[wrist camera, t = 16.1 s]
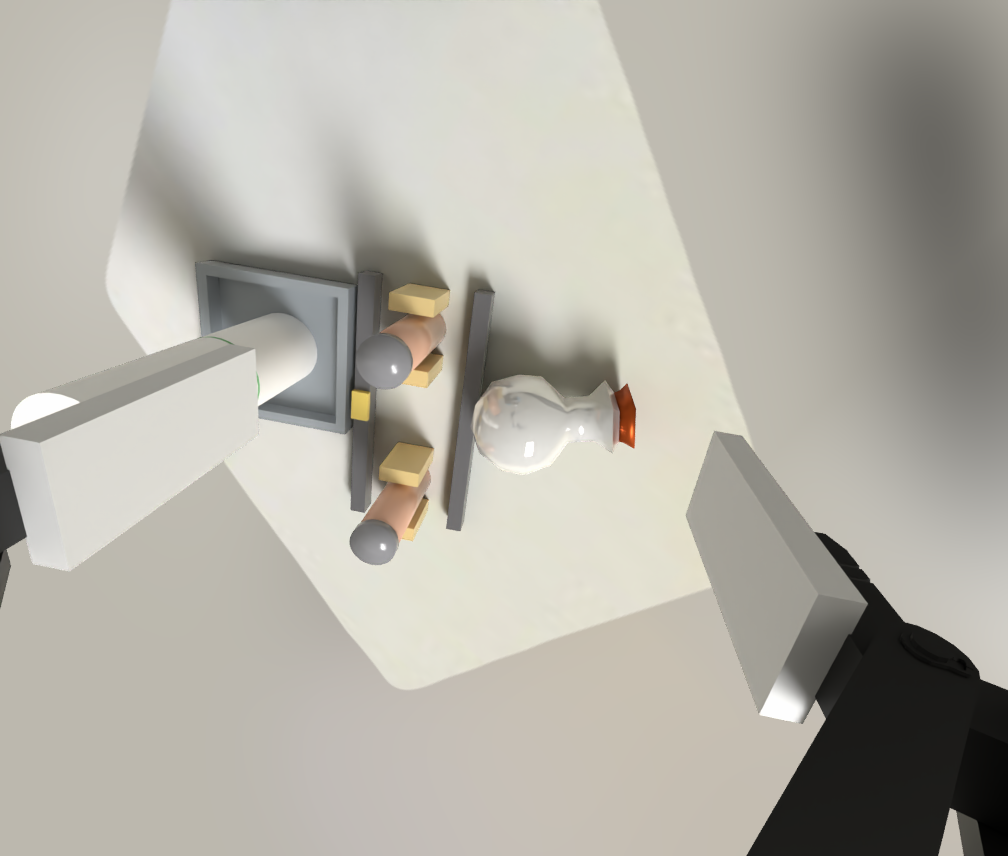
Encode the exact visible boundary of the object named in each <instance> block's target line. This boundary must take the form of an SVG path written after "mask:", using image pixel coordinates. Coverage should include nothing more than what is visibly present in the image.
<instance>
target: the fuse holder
mask: <svg viewBox="0 0 1008 856" xmlns="http://www.w3.org/2000/svg"><path fill="white" fill-rule="evenodd" d="M381 290H382V273H377V272H371V271H363V272H360V273H358V300H357V331H356V353H357V350H358V348H359V346H360V345H361V344H362V342H364V341H365V340H366V339H368V338H369V337H371V336H373V335H375V334H378V333H379V330H380V310H381ZM449 295H450V290H446V289H440V288H434V287H428V286H422V285H416V284H411V283H409V284H407V285H404V286H402V287H400V288H398V289H396V290H393V291H391V292H389V306H388V310H392V311H398V312H404V313H410V314H415V315H421V316H427V317H435V316H436V315H437V314H439V313H440V312H441V311H442V310H444V309H445V308H446V307H448V305H449ZM494 295H495V292H490V291H484V290H477V291H476V292H475V295H474V303H473V311H472V319H471V328H470V336H469V344H468V353H467V361H466V369H465V377H464V386H463V394H462V402H461V410H460V419H459V427H458V435H457V444H456V452H455V460H454V468H453V477H452V485H451V493H450V501H449V510H448V518H447V526H446V529H451V530H456V531H461V528H462V525H463V522H464V516H465V508H466V501H467V494H468V486H469V479H470V472H471V464H472V457H473V450H474V442H475V439H474V436H473V433H472V431H471V428H470V426H471V422H472V417H473V413H474V409H475V405H476V404H477V402H478V401H479V399H480V398H481V391H482V383H483V376H484V369H485V361H486V354H487V347H488V339H489V332H490V325H491V317H492V310H493V303H494ZM442 364H443V355H437V354H432V353H430V354H429V355H428V356H427V357H426V358H425V359H424V360H423V361H422V362H421V363H420V364H419V365H418V366H417V367H416V368H415V369H414V370H413V371H412V372H411V373H410V375H409V376H408V378H407V379H406V380H405V381H404V382H403V383H402V384H406V385H412V386H418V387H423V388H427V387H428V386H429V385H430V384H431V382H432V381H433V380H434V379H435V378H436V376H437V375H438V374H439V373H440V371H441V370H442ZM376 389H377V388H376V387H374V386H372V385H370V384H369V383H367V382H366V381H365V380H364V379H363V378H362V376H361V375H360V373H359V371H358V369H357V365H356V361H355V389H354V390H352V401H351V418H352V419H354V422H353V453H352V483H351V510H353V511H359V512H364V513H365V511H366V510H367V508H368V507H369V505H370V504H371V488H372V468H373V448H374V429H375V409H376ZM433 452H434V448H428V447H423V446H417V445H412V444H407V443H401V442H398V443H397V444H396V445H395V447H394V448H393V449H392V451H391V452H390V453H389V455H388V456H387V457H386V459H385V460H384V461H383V463H382V464H381V465H380V467H379V480H382V481H387V482H392V483H398V484H403V485H408V486H413V487H418V486H419V484H420V482H421V481H422V479H423V477H424V475H425V474H426V472H427V470H428V468H429V466H430V465H431V463H432V461H433ZM428 501H429V500H428V499H423V498H422V500H421V502H420V504H419V506H418V508H417V510H416V512H415V513H414V515H413V517H412V519H411V521H410V523H409V525H408V527H407V529H406V531H405V533H404V535H403V537H402V539H405V540H410V541H413V540H414V538H415V536H416V534H417V532H418V529H419V527H420V525H421V523H422V521H423V519H424V517H425V515H426V513H427V511H428Z"/></svg>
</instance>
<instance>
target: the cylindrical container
mask: <svg viewBox="0 0 1008 856" xmlns="http://www.w3.org/2000/svg"><path fill="white" fill-rule="evenodd" d="M229 344H233V345H239V346H244V347H250V348H255V352H256V374H257V395H258V406H260V405H261V404H263V403H264V402H266V401H268V400H269V399H271V398H272V397H274V396H276V395H277V394H279V393H280V392H282V391H284V390H285V389H287V388H288V387H290V386H292V385H293V384H295V383H296V382H298V381H300V380H301V379H303V378H304V377H306V376H307V375H308V374H309V373H311V371H312V370H313V368H314V366H315V364H316V360H317V347H316V343H315V340H314V338H313V335H312V334H311V332H310V331H309V329H308V328H307V327H306V326H305V325H304V324H303V323H302V322H301V321H299V320H298V319H296V318H295V317H293V316H291V315H288V314H284V313H271V314H268V315H265V316H262V317H259V318H256V319H253V320H250V321H247V322H244V323H241V324H238V325H235V326H232V327H229V328H226V329H223V330H221V331H218V332H215V333H212V334H209V335H206V336H203V337H200V338H197V339H194V340H191V341H188V342H185V343H183V344H180V345H177V346H174V347H171V348H168V349H165V350H162V351H159V352H156V353H153V354H151V355H148V356H145V357H142V358H139V359H136V360H133V361H130V362H127V363H125V364H122V365H119V366H116V367H113V368H110V369H107V370H104V371H101V372H98V373H95V374H93V375H90V376H87V377H84V378H81V379H78V380H75V381H72V382H69V383H66V384H64V385H61V386H58V387H55V388H52V389H49V390H46V391H43V392H40V393H37V394H34V395H32V396H29V397H27V398H26V399H24V400H23V401H21V402H20V403H19V405H18V406H17V407H16V409H15V411H14V413H13V416H12V422H11V430H12V429H14V428H17V427H19V426H22V425H24V424H27V423H30V422H32V421H35V420H37V419H40V418H42V417H45V416H47V415H50V414H52V413H55V412H58V411H60V410H63V409H65V408H68V407H70V406H73V405H75V404H78V403H81V402H83V401H86V400H88V399H91V398H93V397H96V396H98V395H101V394H103V393H106V392H109V391H111V390H114V389H116V388H119V387H121V386H124V385H126V384H129V383H132V382H134V381H137V380H139V379H142V378H144V377H147V376H149V375H152V374H155V373H157V372H160V371H162V370H165V369H167V368H170V367H172V366H175V365H177V364H180V363H183V362H185V361H188V360H190V359H193V358H195V357H198V356H200V355H203V354H206V353H208V352H211V351H213V350H216V349H218V348H221V347H223V346H226V345H229Z"/></svg>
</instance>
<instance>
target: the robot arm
mask: <svg viewBox="0 0 1008 856" xmlns="http://www.w3.org/2000/svg"><path fill="white" fill-rule="evenodd" d="M257 436H259V417H258V395H257V374H256V352H255V348H250V347H244V346H239V345H233V344H229V345H226V346H223V347H221V348H218V349H216V350H213V351H211V352H208V353H206V354H203V355H200V356H198V357H195V358H193V359H190V360H188V361H185V362H183V363H180V364H177V365H175V366H172V367H170V368H167V369H165V370H162V371H160V372H157V373H155V374H152V375H149V376H147V377H144V378H142V379H139V380H137V381H134V382H132V383H129V384H126V385H124V386H121V387H119V388H116V389H114V390H111V391H109V392H106V393H103V394H101V395H98V396H96V397H93V398H91V399H88V400H86V401H83V402H81V403H78V404H75V405H73V406H70V407H68V408H65V409H63V410H60V411H58V412H55V413H52V414H50V415H47V416H45V417H42V418H40V419H37V420H35V421H32V422H30V423H27V424H24V425H22V426H19V427H17V428H14V429H12V430H9V431H7V432H4V433H2V434H0V607H1V603H2V599H3V595H4V591H5V587H6V583H7V579H8V575H9V571H10V567H11V565H10V560H9V557H8V553H7V550H6V549H7V548H9V547H11V546H12V545H14V544H16V543H17V542H19V541H21V540H22V539H24V538H26V542H27V545H28V549H29V553H30V557H31V560H32V564H36V565H41V566H46V567H50V568H56V569H61V570H65V571H71V570H72V569H74V568H75V567H76V566H78V565H79V564H80V563H82V562H83V561H85V560H86V559H88V558H89V557H90V556H92V555H93V554H95V553H96V552H97V551H99V550H100V549H102V548H103V547H104V546H106V545H107V544H108V543H110V542H111V541H113V540H114V539H115V538H117V537H118V536H119V535H121V534H122V533H124V532H125V531H126V530H128V529H129V528H131V527H132V526H134V525H135V524H136V523H138V522H139V521H140V520H142V519H143V518H145V517H146V516H147V515H149V514H150V513H152V512H153V511H154V510H155V509H157V508H159V507H160V506H161V505H163V504H164V503H165V502H167V501H168V500H169V499H171V498H172V497H174V496H175V495H176V494H178V493H179V492H181V491H182V490H183V489H185V488H186V487H188V486H189V485H191V484H192V483H193V482H195V481H196V480H197V479H199V478H200V477H202V476H203V475H204V474H206V473H207V472H209V471H210V470H211V469H213V468H214V467H216V466H217V465H218V464H220V463H221V462H222V461H224V460H225V459H227V458H228V457H229V456H231V455H232V454H234V453H235V452H236V451H238V450H239V449H241V448H242V447H243V446H245V445H246V444H248V443H249V442H250V441H252V440H253V439H254V438H256V437H257ZM686 518H687V520H688V523H689V526H690V529H691V531H692V534H693V537H694V539H695V542H696V545H697V548H698V550H699V553H700V556H701V558H702V561H703V564H704V567H705V569H706V572H707V575H708V577H709V580H710V583H711V586H712V588H713V591H714V593H715V596H716V599H717V602H718V605H719V607H720V610H721V613H722V615H723V618H724V621H725V623H726V626H727V629H728V632H729V634H730V637H731V640H732V642H733V645H734V648H735V651H736V653H737V656H738V659H739V661H740V664H741V667H742V669H743V672H744V675H745V678H746V680H747V683H748V686H749V689H750V691H751V694H752V697H753V699H754V702H755V705H756V708H757V710H758V713H759V715H763V716H768V717H772V718H777V719H782V720H787V721H792V722H796V723H801V724H803V722H804V720H805V719H806V716H807V715H808V713H809V711H810V709H811V708H812V706H813V704H814V702H815V700H817V702H818V704H819V706H820V708H821V710H822V712H823V714H824V716H825V718H826V720H825V722H824V724H823V725H822V727H821V729H820V731H819V732H818V734H817V736H816V737H815V739H814V741H813V743H812V744H811V746H810V748H809V749H808V751H807V753H806V755H805V756H804V758H803V760H802V761H801V763H800V765H799V766H798V768H797V770H796V772H795V774H794V775H793V777H792V778H791V780H790V782H789V784H788V785H787V787H786V789H785V791H784V792H783V794H782V796H781V797H780V799H779V801H778V802H777V804H776V806H775V808H774V809H773V811H772V813H771V814H770V816H769V818H768V820H767V821H766V823H765V825H764V826H763V828H762V830H761V832H760V833H759V835H758V837H757V839H756V840H755V842H754V844H753V845H752V847H751V849H750V851H749V852H748V854H747V856H938V854H939V849H940V846H941V842H942V838H943V834H944V830H945V825H946V821H947V817H948V813H949V809H950V808H951V809H954V810H956V812H957V817H958V824H959V829H960V835H961V841H962V847H963V853H964V856H1008V690H1006V689H1003V688H1001V687H998V686H996V685H993V684H991V683H988V682H986V681H983V680H981V679H980V675H979V671H978V669H977V668H976V667H975V665H974V664H973V663H972V661H971V660H970V659H969V658H968V657H967V656H966V655H965V654H964V653H963V652H961V651H960V650H959V649H958V648H957V647H955V646H954V645H953V644H951V643H950V642H948V641H946V640H945V639H943V638H942V637H940V636H938V635H937V634H935V633H933V632H930V631H928V630H926V629H924V628H921V627H919V626H917V625H913V624H909V623H905V622H904V621H903V620H902V619H901V617H900V616H899V615H898V614H897V612H896V611H895V610H894V609H893V608H892V606H891V605H890V604H889V603H888V601H887V600H886V599H885V598H884V596H883V595H882V594H881V593H880V591H879V590H878V589H877V588H876V586H875V585H874V584H873V583H870V579H869V578H868V576H867V575H866V574H865V573H864V571H863V570H862V569H859V565H858V564H857V563H856V561H855V560H854V559H853V558H852V557H851V555H850V554H849V553H848V551H847V550H846V549H844V548H843V547H842V546H840V545H839V544H838V543H837V542H835V541H834V540H833V539H831V538H830V537H828V536H827V535H826V534H823V533H817V532H814V531H813V530H812V528H811V527H810V526H809V525H808V523H807V522H806V521H805V519H804V518H803V517H802V515H801V514H800V512H799V511H798V510H797V508H796V507H795V506H794V504H793V503H792V502H791V500H790V499H789V498H788V496H787V495H786V494H785V492H784V491H783V490H782V488H781V487H780V486H779V484H778V483H777V482H776V480H775V479H774V478H773V476H772V475H771V474H770V472H769V471H768V470H767V469H766V467H765V466H764V464H763V463H762V462H761V460H760V459H759V458H758V456H757V455H756V454H755V452H754V451H753V450H752V448H751V447H750V446H749V444H748V443H747V442H746V440H745V439H744V438H743V436H740V435H734V434H729V433H723V432H718V431H714V433H713V436H712V439H711V442H710V445H709V447H708V450H707V453H706V456H705V459H704V462H703V465H702V468H701V471H700V474H699V477H698V480H697V483H696V486H695V489H694V492H693V495H692V498H691V501H690V504H689V507H688V510H687V513H686Z"/></svg>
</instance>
